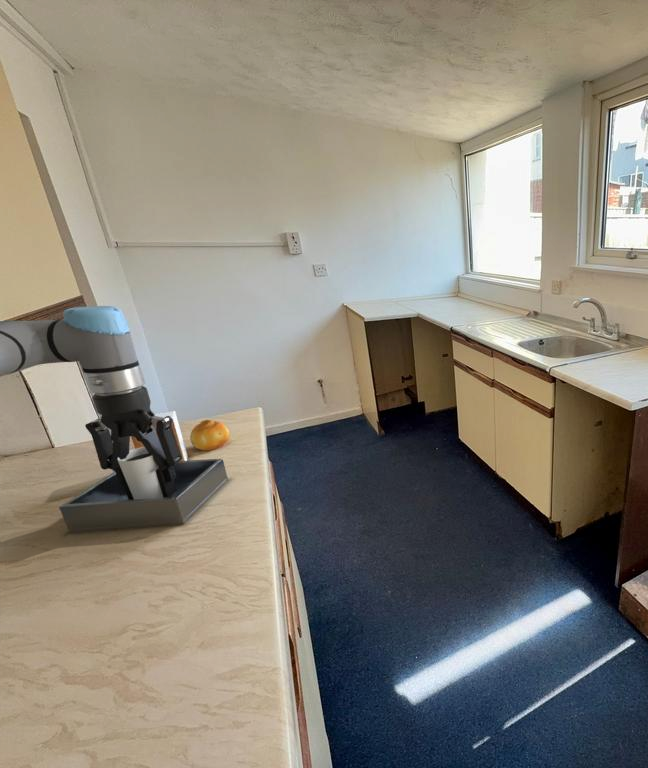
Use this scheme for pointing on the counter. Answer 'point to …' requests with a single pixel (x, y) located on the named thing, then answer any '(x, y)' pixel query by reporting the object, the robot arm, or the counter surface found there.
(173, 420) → the small box
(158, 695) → the counter surface
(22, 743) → the counter surface
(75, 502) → the tray
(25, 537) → the counter surface
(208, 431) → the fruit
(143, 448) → the white cup
